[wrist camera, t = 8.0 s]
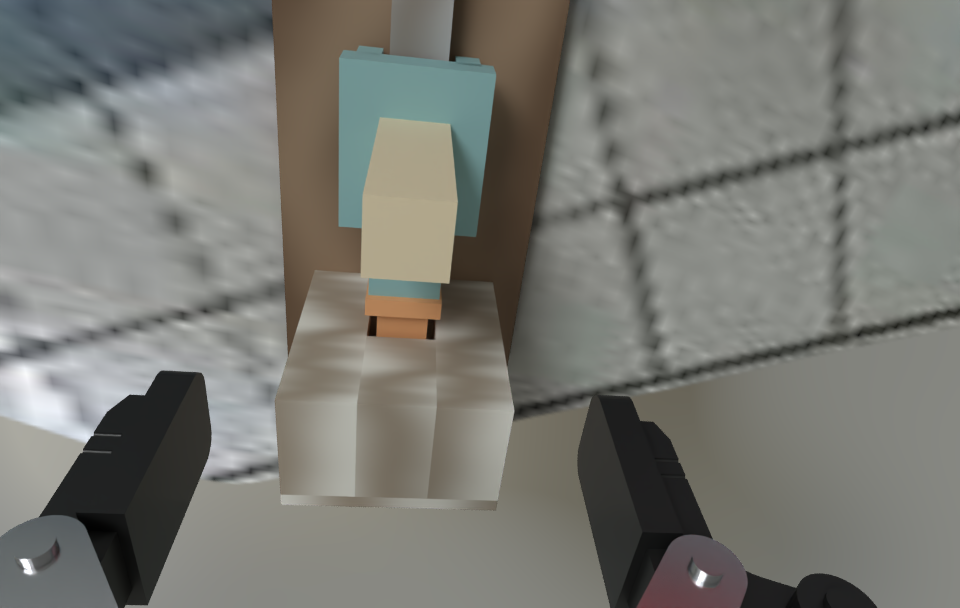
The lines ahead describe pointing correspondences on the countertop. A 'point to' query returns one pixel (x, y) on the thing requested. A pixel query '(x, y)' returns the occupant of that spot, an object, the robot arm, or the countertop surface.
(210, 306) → the countertop surface
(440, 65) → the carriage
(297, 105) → the rail bench
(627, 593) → the robot arm
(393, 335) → the button
